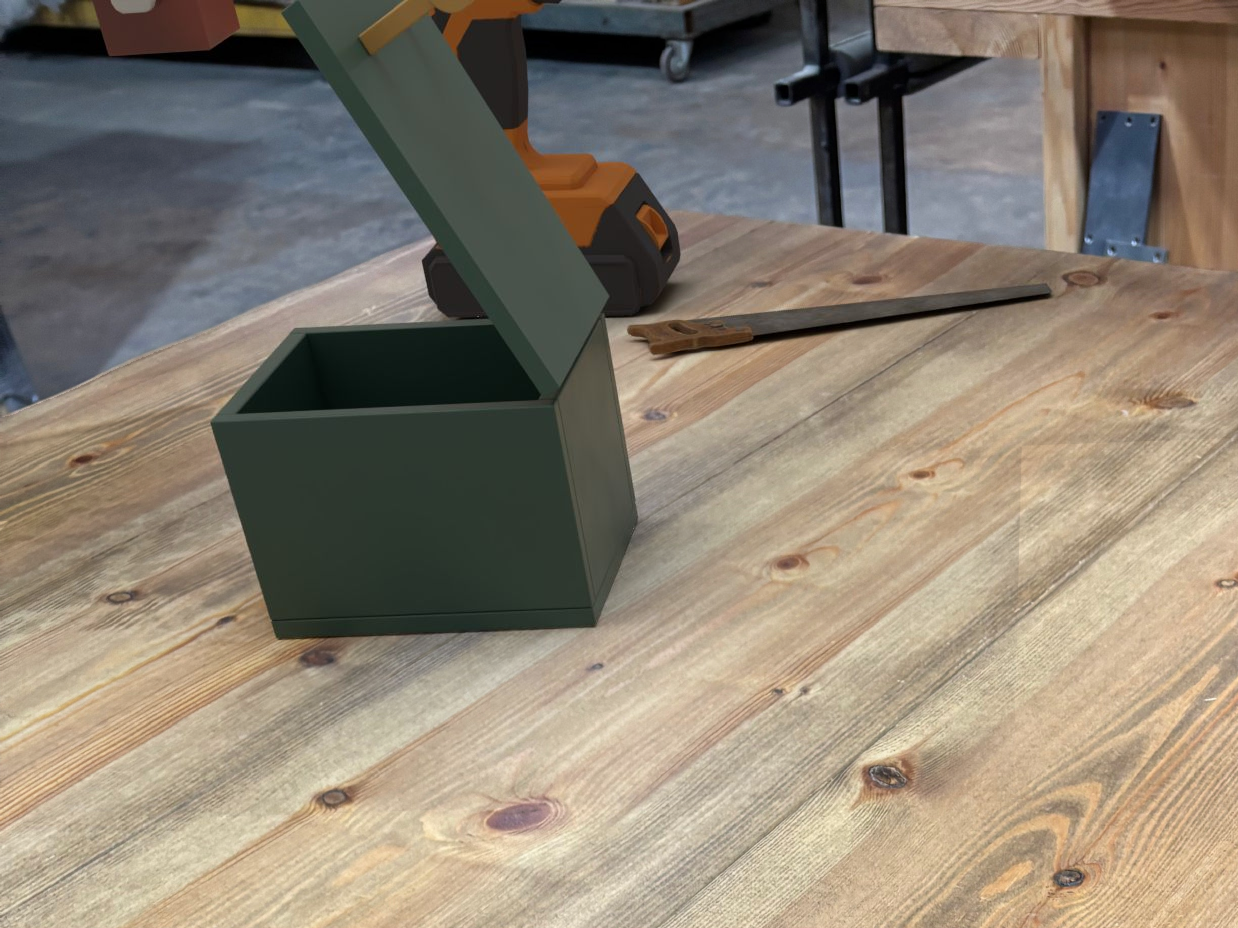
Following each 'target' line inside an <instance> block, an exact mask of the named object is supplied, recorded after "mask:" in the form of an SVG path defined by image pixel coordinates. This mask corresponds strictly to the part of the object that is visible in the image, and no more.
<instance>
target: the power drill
mask: <svg viewBox="0 0 1238 928" xmlns="http://www.w3.org/2000/svg"><path fill="white" fill-rule="evenodd" d="M562 1H563V0H475V1H473V2H472V3H471V4H470V5H469V6H468V7H467V8H465V9H464V10H463V11H461V12H459V13H453V14H451V13H445V12H443V11H441V10H439V9H437V8H436V7H435V8H434V9H433V10H431V11H430V12H429V15H430V16H431V18H432V20H433V21H434V23H435V24H436V26H437V27H438V29H439V31H440V32H441V34H442V35H443V37H444V38H445V40H446V41H447V43H448V45H449V46H450V48H451V49H452V51H453V52H454V54H455V56H456V57H457V59H458V60H459V62H460V63H461V65H462V66H463V68H464V70H465V71H466V73H467V74H468V76H469V77H470V79H471V81H472V82H473V84H474V85H475V87H476V88H477V90H478V91H479V93H480V95H481V96H482V98H483V99H484V101H485V102H486V104H487V106H488V107H489V109H490V110H491V112H492V113H493V115H494V116H495V118H496V120H497V121H498V123H499V124H500V126H501V127H502V129H503V131H504V132H505V134H506V135H507V137H508V138H509V140H510V141H511V143H512V145H513V146H514V148H515V149H516V151H517V152H518V154H519V156H520V157H521V159H522V160H523V162H524V163H525V165H526V166H527V168H528V170H529V171H530V173H531V174H532V176H533V177H534V179H535V181H536V182H537V184H538V185H539V187H540V188H541V190H542V191H543V193H544V195H545V196H546V198H547V199H548V201H549V202H550V204H551V206H552V207H553V209H554V210H555V212H556V213H557V215H558V216H559V218H560V220H561V221H562V223H563V224H564V226H565V227H566V229H567V231H568V232H569V234H570V235H571V237H572V238H573V240H574V241H575V243H576V245H577V246H578V248H579V249H580V251H581V252H582V254H583V256H584V257H585V259H586V260H587V262H588V263H589V265H590V266H591V268H592V270H593V271H594V273H595V274H596V276H597V277H598V279H599V281H600V282H601V284H602V285H603V287H604V288H605V290H606V291H607V293H608V295H609V298H608V300H607V302H606V304H605V305H604V307H603V309H602V311H601V313H604V315H605V317H632V316H633V315H635V314H637V313H638V312H639V311H640V309H641V307H646V306H651V305H652V304H653V303H655V301H656V300H658V298H659V296H660V294H661V293H662V291H663V289H664V288H665V286H666V285H667V283H668V281H669V279H670V278H671V276H672V274H673V273H674V271H675V269H676V268H677V265H678V264H679V263H680V260H681V254H682V252H681V247H680V238H679V232H678V229H677V226H676V224H675V223H674V221H673V220H672V218H671V217H670V215H669V214H668V213H667V211H666V210H665V209H664V207H663V205H662V204H661V202H660V201H659V200H658V199H657V197H656V195H654V193H653V191H652V190H651V188H650V187H649V186H648V183H646V181H645V180H644V179H643V177H642V175H641V174H640V173H639V172H638V171H637V170H636V169H635V168H634V167H633V166H631V164H628V163H625V162H623V161H597V159H596V158H595V157H594V155H592V154H590V153H540V152H538V151H537V150H536V149H535V148H534V147H533V145H532V144H531V142H530V139H529V134H528V129H529V126H528V125H529V77H528V75H529V74H528V59H527V50H526V44H525V39H524V31H523V25H522V15H526V14H527V15H528V14H529V15H531V14H536V13H538V12H539V11H540V10H541V9H542V8H543V7H544V6H545V5H546V4H552V5H553V4H554V5H559V4H560V3H561V2H562ZM433 239H434V241H435V244H434V245H433V246H432V248H431V249H430V250H428V252H427V253H426V254H425V256H423V258H422V259H421V265H422V270H423V274H424V279H425V280H424V281H425V285H426V289H427V295H428V297H429V298H430V299H431V301H432V302H433V303H434V304H435V305H436V310H438V311H439V312H440V313H441V314H442V315H444V316H445V317H447V318H449V319H450V318H451V319H452V317H460V318H482V317H481V316H484V317H483V318H489V317H488V316H487V315H486V313H485V312H484V310H483V309H482V307H481V306H480V304H479V303H478V301H477V300H476V298H475V297H474V295H473V294H472V293H471V291H470V290H469V288H468V287H467V285H466V284H465V282H464V281H463V279H462V278H461V276H460V275H459V274H458V272H457V271H456V269H455V268H454V266H453V265H452V263H451V262H450V260H449V259H448V257H447V256H446V254H445V253H444V252H443V250H442V249H441V247H440V246H439V244H438V243H437V241H436V240H435V238H434V237H433ZM625 315H627V316H625ZM477 316H479V317H477Z"/></svg>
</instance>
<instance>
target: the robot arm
mask: <svg viewBox="0 0 1238 928" xmlns="http://www.w3.org/2000/svg"><path fill="white" fill-rule="evenodd" d="M111 3H112V5H113V6H114V8H115V9H116V10H117V11H119V12H121V13H123V14H125V13H142V12H148V11H150V10H152V8H154V7H155V6H157V5H158V4H160V3H161V0H111Z"/></svg>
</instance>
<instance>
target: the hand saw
mask: <svg viewBox="0 0 1238 928" xmlns="http://www.w3.org/2000/svg"><path fill="white" fill-rule="evenodd" d="M1052 292H1053V290H1052V288H1051V287H1050V286H1049V284H1048V283H1047V282H1045V283H1034V284H1028V285H1027V284H1025V285H1015V286H1005V287H996V288H995V287H994V288H993V287H992V288H986V289H975V290H968V291H965V290H964V291H957V292H947V293H946V292H945V293H939V294H938V293H936V294H928V295H927V294H926V295H917V296H916V295H915V296H907V297H900V298H897V297H896V298H889V299H888V298H887V299H881V300H880V299H877V300H870V301H859V302H858V301H857V302H849V303H842V304H841V303H838V304H829V305H820V306H811V307H810V306H809V307H801V308H800V307H798V308H790V309H781V310H770V311H762V312H760V311H759V312H751V313H742V314H733V315H732V314H731V315H722V316H713V317H703V318H693V319H676V318H675V319H669V320H663V321H659V322H653V323H640V324H639V323H637V324H636V323H635V324H630V325H628V326H627V328H626V332H627V334H628V335H629V336H631V337H635V338H642V339H646V340H647V341H648V342H649V345H648V350H649V352H650V354H651V355H652V356H660V355H665V354H666V355H667V354H672V353H675V352H679V351H685V350H691V349H693V350H694V349H699V348H704V347H721V346H727V345H728V346H729V345H734V344H742V343H746V342H749V341H752V340H754V336H760V335H768V334H774V333H781V332H789V331H794V330H795V331H796V330H802V329H809V328H816V327H824V326H831V325H837V324H843V323H851V322H858V321H865V320H871V319H878V318H885V317H893V316H899V315H906V314H907V315H908V314H914V313H920V312H921V313H922V312H926V311H927V312H928V311H934V310H942V309H948V308H954V307H963V306H970V305H976V304H984V303H989V302H997V301H1004V300H1011V299H1012V300H1013V299H1019V298H1024V297H1026V298H1027V297H1033V296H1038V295H1039V296H1040V295H1046V294H1051V293H1052Z"/></svg>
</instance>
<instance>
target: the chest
mask: <svg viewBox="0 0 1238 928" xmlns="http://www.w3.org/2000/svg"><path fill="white" fill-rule="evenodd" d="M606 321H607V320H606V316H605V315H604V313H600V315H599V316H598V318H597V320H596V322H595V324H594V326H593V327H592V329H591V331H590V333H589V335H588V337H587V338H586V340H585V342H584V344H583V346H582V347H581V349H580V351H579V353H578V355H577V357H576V358H575V360H574V362H573V364H572V366H571V368H570V369H569V371H568V373H567V375H566V377H565V379H564V380H563V382H562V384H561V386H560V388H559V389H557V390H556V391H554V392H553V393H551V394H550V395H548V396H546V397H545V398H543V397H542V395H541V394H540V392H539V391H538V389H537V388H536V386H535V385H534V383H533V382H532V380H531V379H530V378H529V376H528V375H527V373H526V372H525V370H524V369H523V367H522V366H521V364H520V363H519V361H518V360H517V358H516V357H515V356H514V354H513V353H512V351H511V350H510V348H509V347H508V345H507V344H506V342H505V341H504V339H503V338H502V337H501V335H500V334H499V332H498V331H497V329H496V328H495V326H494V325H493V323H492V322H491V320H490V319H489V318H474V319H473V318H472V319H454V320H453V319H451V320H433V321H432V320H431V321H413V322H412V321H411V322H389V323H371V324H352V325H351V324H349V325H331V326H329V325H328V326H309V327H306V326H305V327H294V328H293V329H292V330H291V331H290V332H289V333H288V335H286V336H285V338H284V339H283V340H282V341H281V342H280V344H278V345H277V346H276V348H275V349H274V350H273V351H272V352H271V353H270V354H269V355H268V356H267V358H266V359H265V360H263V362H262V364H260V365H259V367H257V369H256V370H255V371H254V372H253V373H252V374H251V375H250V377H248V379H247V380H245V382H244V383H243V384H242V385H241V386H240V387H239V389H238V390H237V391H236V392H235V393H234V394H233V396H231V397H230V399H229V400H228V401H227V402H226V403H225V404H224V406H222V408H220V410H219V411H218V412H217V413H216V415H214V417H213V418H212V419H211V420H210V421H209V424H210V427H211V431H212V434H213V437H214V440H215V443H216V447H217V450H218V453H219V456H220V457H219V458H220V460H221V463H222V468H223V470H224V473H225V476H226V480H227V482H228V486H229V489H230V493H231V495H232V499H233V502H234V506H235V509H236V512H237V515H238V519H239V522H240V526H241V529H242V531H243V536H244V538H245V541H246V545H247V548H248V552H249V555H250V559H251V562H252V565H253V569H254V571H255V574H256V577H257V581H258V585H259V587H260V588H259V589H260V591H261V594H262V597H263V599H264V600H263V601H264V604H265V607H266V610H267V614H268V616H269V619H270V621H271V622H270V623H271V627H272V629H273V633H274V636H275V639H297V638H299V639H300V638H321V637H322V638H323V637H324V638H325V637H326V638H327V637H349V636H371V635H373V636H375V635H399V634H425V633H449V632H452V633H453V632H473V631H474V632H475V631H503V630H527V629H552V628H553V629H554V628H575V627H576V628H578V627H595V626H596V625H597V622H598V620H599V617H600V615H601V614H602V611H603V608H604V605H605V602H606V600H607V597H608V595H609V592H610V590H611V588H612V585H613V583H614V580H615V578H616V576H617V573H618V570H619V568H620V565H621V564H622V560H623V558H624V555H625V553H626V550H627V548H628V545H629V543H628V542H630V540H631V538H630V536H631V537H632V535H631V533H632V530H633V528H634V526H635V527H636V525H637V523H636V521H637V522H638V520H637V518H638V519H639V514H638V507H637V503H636V501H637V500H636V494H635V488H634V483H633V476H632V471H631V465H630V458H629V453H628V448H627V447H628V446H627V441H626V434H625V428H624V423H623V417H622V412H621V404H620V398H619V392H618V387H617V380H616V375H615V368H614V364H613V357H612V356H613V355H612V351H611V345H610V339H609V334H608V333H609V332H608V327H607V322H606ZM635 524H636V525H635ZM634 529H635V528H634ZM633 531H634V530H633ZM632 534H633V533H632ZM626 547H627V548H626Z"/></svg>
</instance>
